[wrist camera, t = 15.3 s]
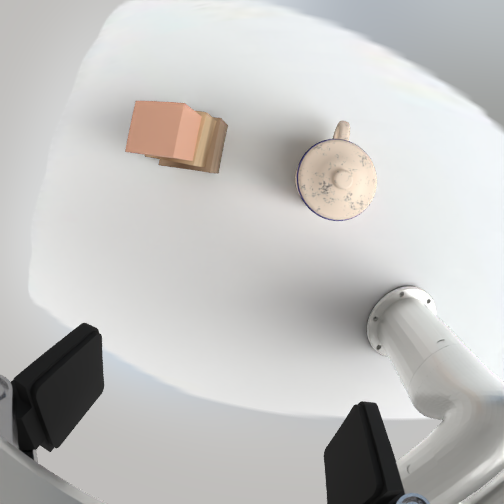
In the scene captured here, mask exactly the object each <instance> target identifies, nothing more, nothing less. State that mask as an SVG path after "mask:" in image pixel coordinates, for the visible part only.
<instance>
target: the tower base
mask: <svg viewBox="0 0 504 504" xmlns="http://www.w3.org/2000/svg"><path fill="white" fill-rule="evenodd" d="M212 118H214V119H215V120H216V121H217V122H216V126H215V130H214V133H213V137H212V141H211V145H210V149H209V153H208V157H207V161H206V165H205V167H199V166H193V165H188V164H183V163H178V162H173V161H168V160H162V159H160V160H159V165H162V166H169V167H176V168H183V169H190V170H197V171H203V172H209V173H218V172H219V167H220V162H221V157H222V151H223V146H224V141H225V136H226V131H227V127H228V125H227V124H226V123H225V122H224V121H223V120H222V119H221V118H215V117H212Z"/></svg>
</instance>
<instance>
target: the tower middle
mask: <svg viewBox="0 0 504 504" xmlns="http://www.w3.org/2000/svg"><path fill="white" fill-rule="evenodd" d="M195 112H197V113H198V114H199V115H200V116H202V118H201V123H200V127H199V132H198V137H197V142H196V147H195V152H194V157H193V161H189V160H182V159H175V158H168V157H160V156H151V155H145V156H146V157H151V158H157V159H162V160H168V161H173V162H178V163H183V164H188V165H193V166H199V167H205V165H206V161H207V157H208V153H209V149H210V145H211V141H212V137H213V133H214V130H215V126H216V122H217V121H216V120H215V119H214V118H212V117H211V116H210V115H209V114H208V113H206V112H200V111H195Z"/></svg>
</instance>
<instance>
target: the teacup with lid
mask: <svg viewBox="0 0 504 504" xmlns="http://www.w3.org/2000/svg"><path fill="white" fill-rule="evenodd" d="M349 135H350V125H349V123H348V122H346V121H340V122H339V123H338V125H337V127H336V129H335V132H334V136H333V139H328V140H324V141H321V142H319V143H317V144H315V145H314V146H312V147H311V148H310V149H309V150H308V151H307V152H306V153H305V154H304V156H303V157H302V159H301V161H300V163H299V165H298V167H297V170H296V174H295V184H296V188H297V191H298V193H299V195H300V197H301V198H302V200H303V201H304V203H305V204H306V206H307V207H308V208H309V209H310V210H311V211H312V212H314V213H315V214H317V215H318V216H320V217H322V218H325V219H328V220H333V221H343V220H348V219H352V218H354V217H356V216H358V215H359V214H361V213H362V212H363V211H364V210H365V209H366V208H367V207H368V206H369V205H370V203H371V201H372V200H373V198H374V195H375V192H376V186H377V177H376V171H375V168H374V165H373V163H372V161H371V159H370V158H369V156H368V155H367V154H366V152H365V151H364V150H363V149H361V148H360V147H359V146H357V145H356V144H354V143H352V142H350V141H349Z"/></svg>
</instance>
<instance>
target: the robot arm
mask: <svg viewBox="0 0 504 504" xmlns="http://www.w3.org/2000/svg"><path fill="white" fill-rule="evenodd" d="M367 337H368V339H369V342H370V344H371V346H372V347H373V349H374V350H375V351H376V352H378V353H379V354H381V355H384V356H387V357H389V359H390V361H391V363H392V364H393V366H394V368H395V370H396V372H397V374H398V376H399V378H400V380H401V382H402V384H403V386H404V388H405V389H406V391H407V393H408V395H409V397H410V399H411V401H412V403H413V405H414V407H415V408H416V409H417V410H418V411H419V412H420V413H421V414H423V415H424V416H426V417H429V418H433V419H438V420H443V421H442V422H441V423H440V424H439V425H438V426H437V427H436V428H435V429H434V430H433V431H432V432H431V434H430V435H428V436H427V437H426V438H425V439H424V440H423V441H421V442H420V443H419V444H418V445H417V446H415V447H414V448H413V449H412V450H411V451H409V452H408V453H407V454H405V455H404V456H403V457H402V458H401V459H399V460H398V461H396V460H395V457H394V454H393V451H392V447H391V444H390V441H389V439H388V436H387V433H386V430H385V427H384V424H383V421H382V418H381V415H380V412H379V409H378V406H377V404H376V403H371V402H360V403H359V404H358V405H354V406H353V408H352V409H351V411H350V413H349V414H348V416H347V417H346V419H345V420H344V422H343V424H342V425H341V427H340V428H339V430H338V431H337V433H336V434H335V436H334V437H333V439H332V440H331V441H330V443H329V444H328V446H327V447H326V449H325V452H324V463H325V475H326V488H327V504H504V472H502V473H501V474H500V475H499V476H497V477H496V478H495V479H494V480H493V481H491V482H490V483H489V484H488V485H487V486H485V487H484V488H483V489H481V490H480V491H479V492H478V493H476V494H475V495H473V496H472V497H471V498H469V499H468V500H466V501H464V502H461V501H462V500H464V499H465V498H467V497H468V496H469V495H471V494H472V493H473V492H476V491H477V490H478V489H480V488H481V487H482V486H483V485H484V484H486V483H487V482H488V481H489V480H491V479H492V478H493V477H494V476H495V475H497V474H498V473H499V472H500V471H501V470H502V469H503V468H504V381H503V380H502V379H500V378H499V377H498V376H497V375H495V374H494V373H493V372H492V371H491V370H490V369H489V368H487V367H486V366H485V365H484V364H483V363H482V362H481V361H480V360H479V359H478V358H477V357H476V355H475V354H474V353H473V352H472V351H471V350H470V349H469V348H468V347H467V346H466V345H465V344H464V343H463V342H462V341H461V340H460V339H459V338H458V337H457V335H456V334H455V333H454V332H453V331H452V330H451V329H450V328H449V326H447V325H446V324H445V323H444V322H443V321H442V320H441V319H440V318H439V317H438V316H437V315H436V307H435V303H434V301H433V299H432V298H431V296H430V295H429V294H428V293H427V292H425V291H424V290H422V289H420V288H418V287H414V286H406V287H401V288H398V289H395V290H393V291H391V292H390V293H388V294H386V295H385V296H384V297H383V298H382V299H381V300H380V301H379V302H378V303H377V304H376V305H375V307H374V308H373V310H372V312H371V314H370V316H369V319H368V323H367ZM102 361H103V360H102V336H101V334H100V333H99V331H98V329H97V328H95V327H93V326H91V325H89V324H87V323H82V324H81V325H79V326H78V327H77V328H76V329H74V330H73V331H72V332H70V333H69V334H68V335H67V336H65V337H64V338H63V339H62V340H61V341H59V342H58V343H56V345H54V346H53V347H52V348H50V349H49V350H48V351H47V352H45V353H44V354H43V355H41V356H40V357H39V358H38V359H37V360H36V361H34V362H33V363H32V364H30V365H29V366H28V367H27V368H26V369H24V370H23V371H22V372H21V373H20V374H18V375H17V376H16V377H15V378H14V380H13V381H11V382H10V381H9V380H8V379H7V378H6V377H4V376H2V375H0V504H107V503H105V502H103V501H101V500H99V499H97V498H95V497H93V496H91V495H90V494H88V493H86V492H84V491H82V490H80V489H78V488H76V487H75V486H73V485H72V484H70V483H68V482H66V481H65V480H63V479H61V478H60V477H58V476H57V475H55V474H54V473H52V472H50V471H49V470H47V469H46V468H44V467H43V466H41V465H40V464H38V460H37V453H36V449H37V448H38V447H39V445H40V446H42V447H43V448H45V449H46V450H48V451H49V452H51V451H52V450H53V448H54V447H55V448H58V447H59V446H60V445H61V444H62V443H63V441H64V440H65V439H66V437H67V436H68V435H69V434H70V433H71V431H72V430H73V429H74V427H75V426H76V425H77V424H78V422H79V421H80V420H81V419H82V417H83V416H84V415H85V414H86V412H87V411H88V410H89V408H90V407H91V406H92V405H93V404H94V402H95V401H96V400H97V399H98V397H99V396H100V395H101V394H102V392H103V389H104V377H103V362H102Z"/></svg>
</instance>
